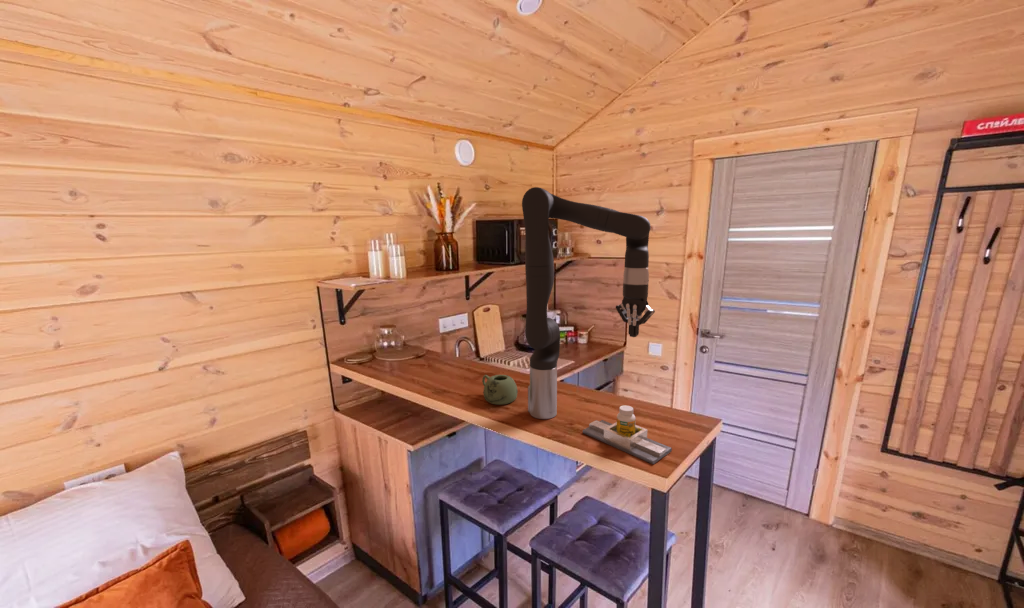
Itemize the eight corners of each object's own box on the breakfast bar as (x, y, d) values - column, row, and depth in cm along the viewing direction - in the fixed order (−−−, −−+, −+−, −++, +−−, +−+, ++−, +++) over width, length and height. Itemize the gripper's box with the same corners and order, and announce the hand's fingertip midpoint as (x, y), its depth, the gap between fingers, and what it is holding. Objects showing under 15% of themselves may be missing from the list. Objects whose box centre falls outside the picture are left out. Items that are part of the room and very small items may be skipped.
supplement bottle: (633, 434, 126) (634, 404, 124) (636, 443, 121) (637, 412, 119) (615, 433, 127) (616, 403, 125) (617, 442, 122) (618, 411, 120)
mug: (524, 398, 156) (524, 376, 154) (501, 409, 147) (500, 386, 145) (494, 388, 167) (494, 367, 165) (470, 398, 157) (470, 376, 156)
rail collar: (582, 432, 129) (582, 421, 129) (602, 422, 136) (602, 411, 135) (653, 464, 112) (654, 451, 111) (671, 451, 118) (672, 438, 117)
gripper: (610, 281, 130) (608, 334, 133) (648, 285, 120) (646, 342, 123) (624, 279, 135) (622, 330, 138) (661, 282, 125) (659, 338, 128)
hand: (633, 336), depth 131 cm, fingers closed
